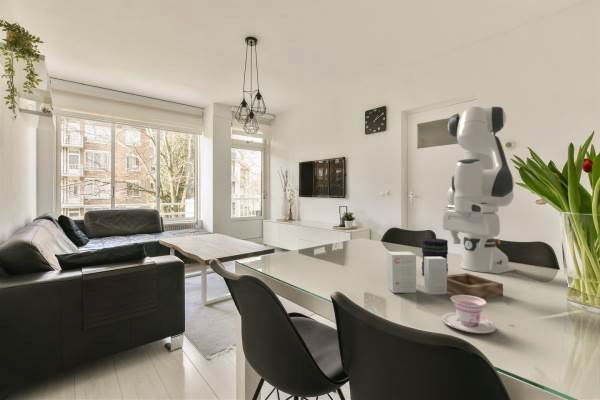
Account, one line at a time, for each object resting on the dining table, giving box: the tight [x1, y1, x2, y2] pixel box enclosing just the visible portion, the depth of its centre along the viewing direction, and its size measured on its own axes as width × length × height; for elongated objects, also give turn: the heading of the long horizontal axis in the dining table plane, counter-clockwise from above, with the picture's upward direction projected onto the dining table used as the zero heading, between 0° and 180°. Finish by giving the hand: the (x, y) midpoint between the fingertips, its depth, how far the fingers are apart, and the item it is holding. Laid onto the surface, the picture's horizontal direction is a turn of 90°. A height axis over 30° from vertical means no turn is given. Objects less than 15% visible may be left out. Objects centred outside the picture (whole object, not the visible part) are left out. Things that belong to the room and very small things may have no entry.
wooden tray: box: [447, 272, 504, 300], centre depth 99 cm, size 14×14×4 cm
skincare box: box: [423, 256, 448, 296], centre depth 98 cm, size 6×4×12 cm
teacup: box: [441, 294, 497, 334], centre depth 74 cm, size 12×12×6 cm
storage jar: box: [421, 237, 449, 277], centre depth 120 cm, size 10×10×15 cm
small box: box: [387, 251, 417, 294], centre depth 101 cm, size 8×6×13 cm
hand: (468, 246), depth 100 cm, fingers open, 8 cm apart
